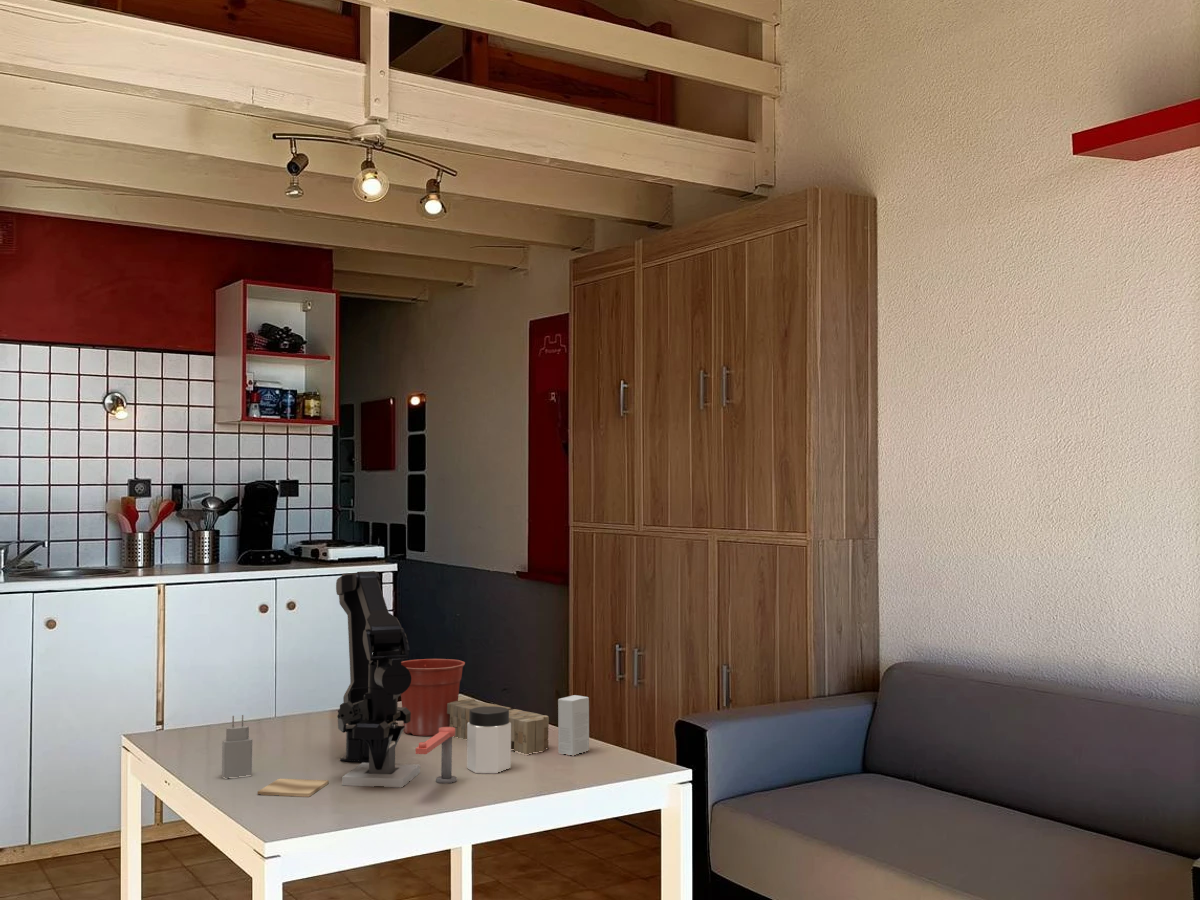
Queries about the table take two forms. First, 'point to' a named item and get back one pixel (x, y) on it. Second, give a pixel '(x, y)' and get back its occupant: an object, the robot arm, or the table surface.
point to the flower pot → (430, 694)
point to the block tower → (525, 726)
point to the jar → (488, 740)
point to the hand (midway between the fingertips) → (382, 766)
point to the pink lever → (435, 740)
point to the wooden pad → (293, 787)
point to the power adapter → (237, 751)
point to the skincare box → (573, 725)
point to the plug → (388, 763)
